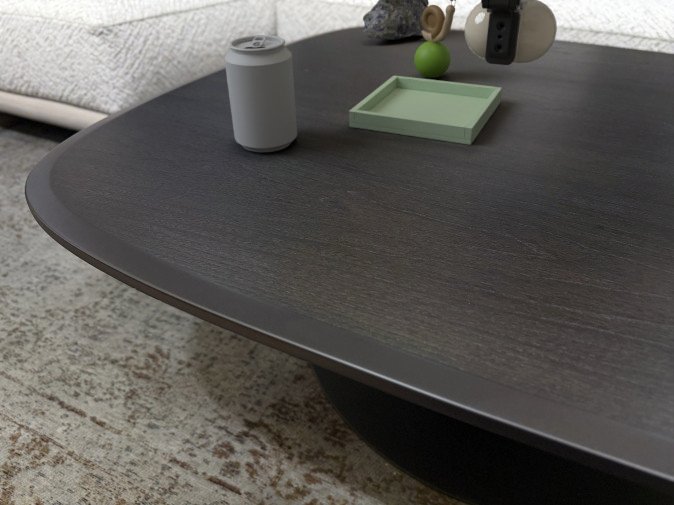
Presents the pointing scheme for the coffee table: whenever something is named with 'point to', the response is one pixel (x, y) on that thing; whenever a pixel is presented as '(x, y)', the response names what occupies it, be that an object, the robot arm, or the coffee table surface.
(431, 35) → the snail figurine
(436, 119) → the tray
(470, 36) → the cream lobed oval
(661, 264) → the coffee table surface
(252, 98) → the can
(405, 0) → the mineral rock
